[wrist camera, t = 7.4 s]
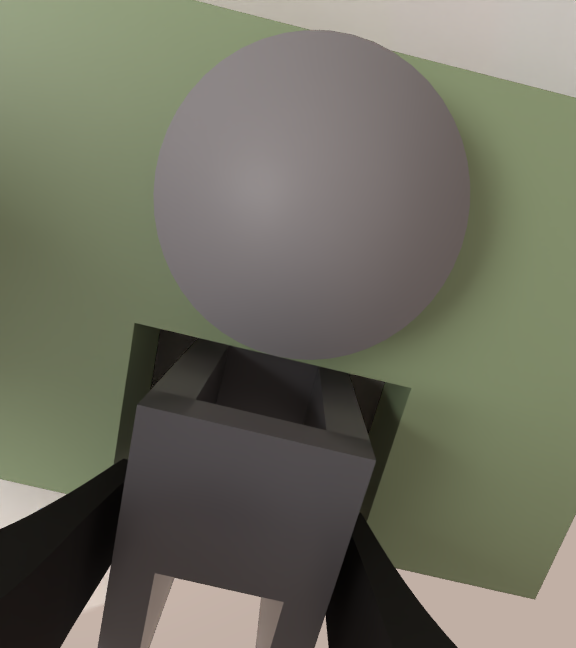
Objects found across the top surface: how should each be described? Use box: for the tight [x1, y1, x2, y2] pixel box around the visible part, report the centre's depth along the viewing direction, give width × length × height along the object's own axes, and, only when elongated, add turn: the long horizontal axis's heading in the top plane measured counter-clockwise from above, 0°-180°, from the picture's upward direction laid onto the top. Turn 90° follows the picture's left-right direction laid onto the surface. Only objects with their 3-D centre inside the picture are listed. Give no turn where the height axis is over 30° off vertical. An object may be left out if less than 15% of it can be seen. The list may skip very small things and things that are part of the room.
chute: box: [98, 338, 376, 648], centre depth 12 cm, size 5×8×6 cm, turn 167°
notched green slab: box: [0, 0, 576, 599], centre depth 12 cm, size 20×14×4 cm
